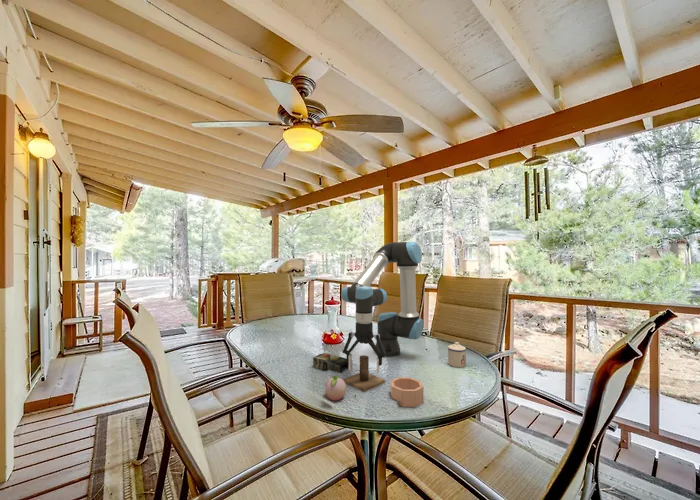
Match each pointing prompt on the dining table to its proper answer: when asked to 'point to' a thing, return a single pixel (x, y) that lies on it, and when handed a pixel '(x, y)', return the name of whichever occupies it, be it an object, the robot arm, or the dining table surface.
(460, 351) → the teacup with lid
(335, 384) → the decorative fruit
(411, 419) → the dining table surface
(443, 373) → the dining table surface
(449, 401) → the dining table surface
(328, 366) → the juice carton
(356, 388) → the mat
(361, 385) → the lid
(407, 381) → the bowl
